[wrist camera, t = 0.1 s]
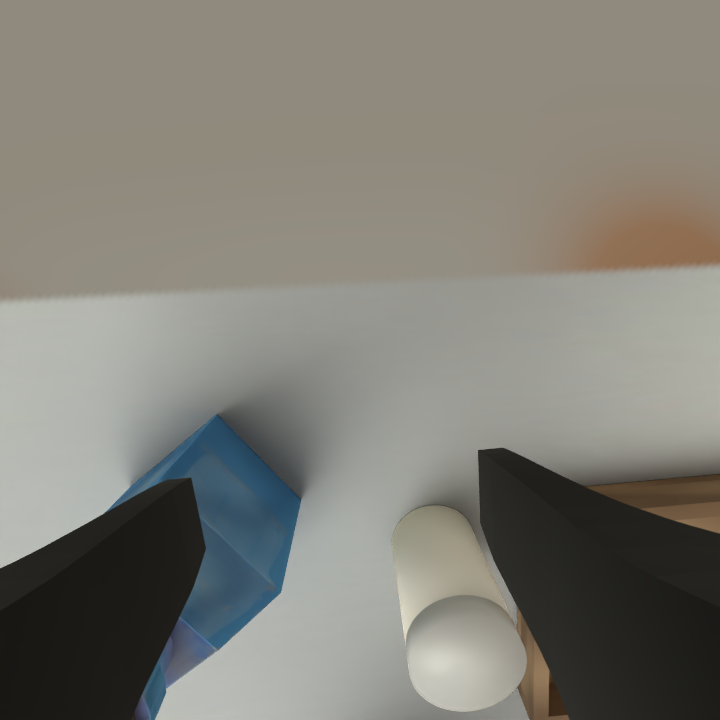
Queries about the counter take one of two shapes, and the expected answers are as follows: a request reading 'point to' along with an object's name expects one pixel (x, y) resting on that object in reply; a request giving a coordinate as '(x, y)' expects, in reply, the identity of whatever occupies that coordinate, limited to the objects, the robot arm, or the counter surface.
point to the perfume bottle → (222, 548)
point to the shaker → (453, 614)
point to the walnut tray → (661, 497)
